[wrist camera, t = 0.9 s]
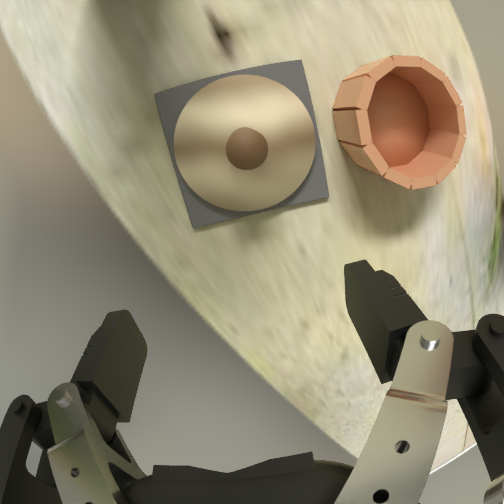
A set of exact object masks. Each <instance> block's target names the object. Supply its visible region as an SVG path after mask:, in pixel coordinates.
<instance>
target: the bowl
mask: <svg viewBox="0 0 504 504" xmlns="http://www.w3.org/2000/svg"><path fill="white" fill-rule="evenodd" d="M461 103H462V101H461V99H460V97H459V96H458V94H457V92H456V90H455V88H454V87H453V85H452V83H451V81H450V80H449V78H448V76H446V77H445V73H443V72H442V71H441V70H439V69H438V68H436V67H435V66H434V65H432V64H431V63H429V62H428V61H426V60H425V59H423V58H420V57H418V56H397V55H392V56H389V57H386V58H383V59H380V60H377V61H374V62H371V63H368V64H365V65H362V66H361V67H359V68H358V69H357V70H355V71H354V72H353V73H351V74H350V75H349V76H348V77H346V78H345V79H344V80H343V82H341V84H340V87H339V90H338V93H337V96H336V99H335V102H334V105H333V109H336V110H337V111H332V112H333V117H334V122H335V127H336V133H337V138H338V140H341V141H340V142H339V143H340V144H341V145H342V147H343V148H344V149H345V150H346V152H347V153H348V154H349V156H350V157H351V158H352V160H353V161H354V162H355V164H357V165H358V166H360V167H362V168H364V169H366V170H369V171H371V172H373V173H375V174H377V175H379V176H382V177H384V178H386V179H388V180H390V181H392V182H395V183H397V184H399V185H401V186H403V187H405V188H407V189H411V190H414V189H419V188H424V187H430V186H435V185H436V183H437V184H439V183H440V182H441V181H442V180H443V179H444V178H445V177H446V176H447V175H448V174H449V173H450V172H451V171H452V170H453V169H454V168H455V167H456V164H458V162H459V159H460V156H461V153H462V149H463V146H464V143H465V139H466V137H464V136H463V135H466V126H465V117H464V109H463V105H460V104H461ZM455 163H456V164H455Z"/></svg>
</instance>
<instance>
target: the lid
mask: <svg viewBox="0 0 504 504" xmlns="http://www.w3.org/2000/svg"><path fill="white" fill-rule="evenodd" d="M315 145H316V138H315V131H314V126H313V123H312V120H311V117H310V115H309V113H308V111H307V109H306V108H305V106H304V104H303V103H302V102H301V101H300V99H299V98H298V97H297V96H296V95H295V94H294V93H293V92H292V91H290V90H289V89H288V88H286V87H285V86H284V85H282V84H280V83H278V82H276V81H274V80H271V79H268V78H266V77H261V76H257V75H234V76H228V77H225V78H222V79H219V80H216V81H214V82H212V83H210V84H208V85H207V86H205V87H204V88H202V89H201V90H200V91H198V92H197V93H196V94H195V95H194V96H193V97H192V98H191V99H190V100H189V101H188V103H187V104H186V106H185V107H184V109H183V110H182V112H181V114H180V116H179V119H178V121H177V124H176V128H175V133H174V154H175V159H176V163H177V166H178V168H179V171H180V173H181V175H182V177H183V178H184V180H185V181H186V183H187V184H188V185H189V186H190V188H191V189H192V190H193V191H194V192H195V193H196V194H198V195H199V196H200V197H201V198H203V199H204V200H206V201H207V202H209V203H211V204H213V205H215V206H218V207H221V208H224V209H228V210H233V211H255V210H261V209H264V208H268V207H271V206H273V205H275V204H278V203H279V202H281V201H283V200H284V199H286V198H287V197H288V196H290V195H291V194H292V193H293V192H294V191H295V190H296V189H297V188H298V187H299V186H300V185H301V183H302V182H303V181H304V179H305V178H306V176H307V174H308V173H309V170H310V168H311V166H312V162H313V159H314V154H315Z"/></svg>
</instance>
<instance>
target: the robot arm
mask: <svg viewBox="0 0 504 504" xmlns="http://www.w3.org/2000/svg"><path fill="white" fill-rule="evenodd" d="M344 276H345V297H346V306H347V310H348V314H349V316H350V318H351V320H352V322H353V324H354V326H355V328H356V330H357V333H358V335H359V337H360V339H361V341H362V343H363V345H364V347H365V349H366V351H367V353H368V356H369V358H370V360H371V362H372V364H373V366H374V368H375V371H376V373H377V375H378V377H379V379H380V382H381V384H383V383H386V382H389V381H392V384H391V387H390V390H388V392H387V394H386V396H385V399H384V401H383V404H382V407H381V409H380V412H379V414H378V417H377V419H376V421H375V424H374V426H373V428H372V431H371V433H370V435H369V438H368V440H367V442H366V444H365V446H364V448H363V451H362V453H361V455H360V457H359V459H358V461H357V463H356V465H355V467H353V466H350V465H347V464H344V463H339V462H334V461H325V460H314V459H313V454H312V452H308V453H302V454H297V455H292V456H287V457H281V458H275V459H269V460H267V461H264V462H261V463H258V464H255V465H253V466H250V467H247V468H244V469H241V470H237V471H234V472H230V473H223V472H217V471H212V470H207V469H202V468H197V467H192V466H167V465H166V466H165V465H154V466H153V474H152V475H149V476H147V475H146V474H145V473H144V472H143V471H142V470H141V469H140V467H139V466H138V464H137V463H136V461H135V459H134V458H133V456H132V454H131V452H130V450H129V449H128V447H127V445H126V443H125V442H124V439H123V437H122V436H121V434H120V432H119V431H118V430H117V429H116V424H117V422H129V421H130V418H131V413H132V409H133V405H134V401H135V397H136V393H137V389H138V385H139V381H140V378H141V374H142V370H143V367H144V363H145V359H146V356H147V345H146V341H145V339H144V337H143V335H142V333H141V332H140V330H139V328H138V326H137V324H136V323H135V321H134V319H133V317H132V315H131V314H130V312H129V311H128V310H120V311H114V312H109V313H108V314H107V315H106V317H105V319H104V321H103V323H102V325H101V327H99V328H98V330H97V331H96V332H95V333H94V334H93V335H92V336H91V339H90V341H89V343H88V345H87V347H86V349H85V351H84V353H83V354H84V355H83V356H82V357H81V359H80V361H79V363H78V366H77V368H76V370H75V372H74V374H73V377H72V379H71V381H70V382H66V383H62V384H60V385H58V386H57V387H56V388H55V389H54V390H53V391H52V392H51V393H50V395H49V397H48V401H45V402H42V403H38V404H36V403H35V402H34V401H33V400H32V399H31V398H30V397H29V396H28V395H21V396H19V397H17V398H16V399H14V400H13V402H12V403H11V405H10V406H9V408H8V410H7V413H6V415H5V418H4V420H3V423H2V425H1V428H0V504H420V503H418V502H419V499H420V497H421V494H422V492H423V489H424V487H425V484H426V481H427V479H428V476H429V473H430V470H431V467H432V464H433V461H434V458H435V455H436V451H437V448H438V444H439V441H440V437H441V433H442V429H443V425H444V421H445V417H446V412H447V406H448V402H447V401H445V400H450V399H457V400H458V402H459V404H460V406H461V409H462V411H463V413H464V415H465V417H466V419H467V422H468V424H469V426H470V428H471V431H472V433H473V435H474V438H475V440H476V442H477V445H478V447H479V450H480V452H481V455H482V457H483V460H484V462H485V465H486V468H487V470H488V473H489V476H490V479H491V484H490V485H489V486H488V488H487V490H486V493H485V496H484V504H504V316H502V315H499V314H488V315H485V316H483V317H482V318H481V319H480V320H479V322H478V324H477V327H476V330H468V331H460V332H451V331H450V329H449V328H448V327H447V326H445V325H444V324H442V323H440V322H437V321H431V320H428V319H427V318H426V317H425V315H424V314H423V313H422V311H421V310H420V309H419V307H418V306H417V305H416V304H415V302H414V301H413V300H412V298H411V297H410V296H409V295H408V294H407V293H406V291H405V290H404V288H403V287H401V285H400V283H399V282H398V281H397V280H396V279H395V277H394V276H392V275H391V274H389V273H387V272H385V271H383V270H379V271H376V272H375V271H374V269H373V268H372V267H371V266H370V264H369V263H368V262H367V261H366V260H361V261H357V262H353V263H349V264H345V266H344ZM32 441H33V442H34V443H35V444H36V445H38V446H39V447H40V448H41V449H42V450H43V451H42V455H41V458H40V462H39V466H38V470H37V474H36V477H34V476H33V475H31V474H30V473H29V472H28V470H27V468H26V459H27V455H28V452H29V449H30V446H31V442H32Z"/></svg>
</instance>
